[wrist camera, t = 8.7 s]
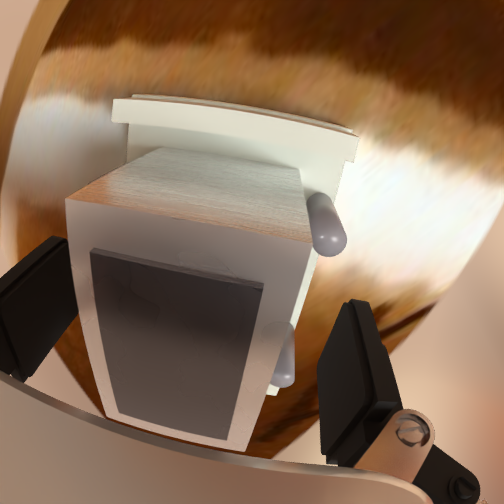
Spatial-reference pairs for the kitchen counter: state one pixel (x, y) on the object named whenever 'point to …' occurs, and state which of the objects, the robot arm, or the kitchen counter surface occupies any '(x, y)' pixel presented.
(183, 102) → the tray
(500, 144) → the kitchen counter surface
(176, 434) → the box
